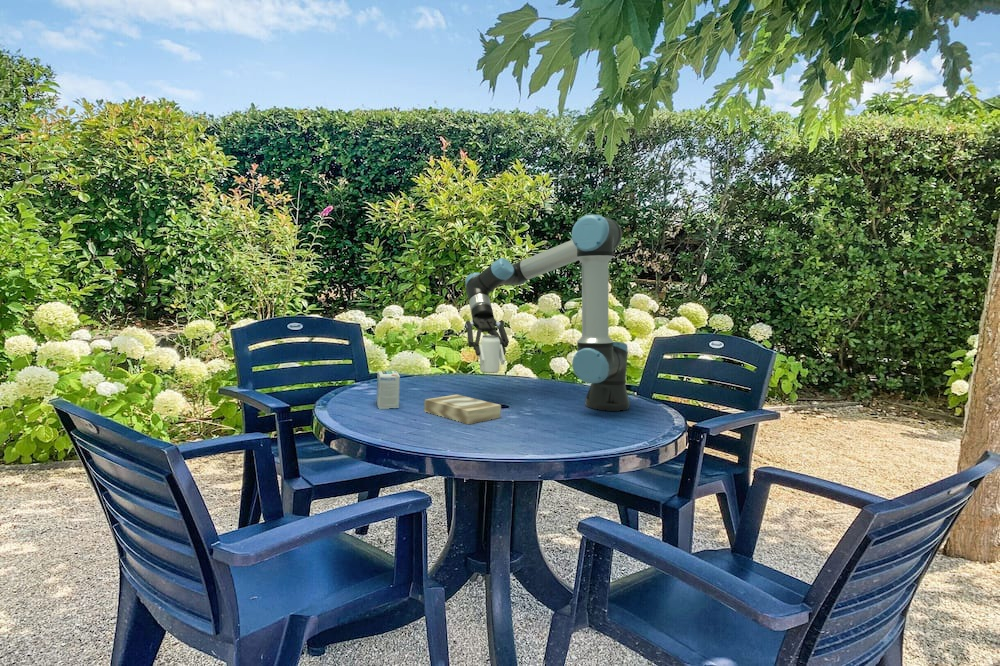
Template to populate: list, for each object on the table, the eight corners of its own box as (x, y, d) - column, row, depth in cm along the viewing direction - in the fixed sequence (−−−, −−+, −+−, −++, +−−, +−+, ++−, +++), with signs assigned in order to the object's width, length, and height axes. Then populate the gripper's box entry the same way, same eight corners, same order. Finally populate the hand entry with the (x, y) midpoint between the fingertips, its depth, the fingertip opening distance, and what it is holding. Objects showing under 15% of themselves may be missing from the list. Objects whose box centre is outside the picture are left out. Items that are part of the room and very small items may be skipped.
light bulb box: (376, 402, 204) (376, 370, 203) (396, 402, 205) (397, 370, 204) (378, 409, 193) (379, 376, 192) (399, 409, 195) (400, 376, 194)
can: (477, 370, 206) (479, 334, 205) (496, 369, 208) (497, 335, 207) (482, 373, 200) (483, 337, 199) (501, 373, 202) (502, 337, 201)
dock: (500, 417, 189) (501, 404, 189) (468, 424, 179) (468, 410, 179) (456, 406, 203) (456, 393, 202) (424, 412, 192) (424, 398, 192)
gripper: (504, 317, 220) (517, 368, 206) (452, 316, 214) (462, 369, 200) (510, 303, 214) (523, 355, 200) (456, 302, 209) (466, 355, 195)
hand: (493, 362), depth 200 cm, fingers closed on can, 6 cm apart
